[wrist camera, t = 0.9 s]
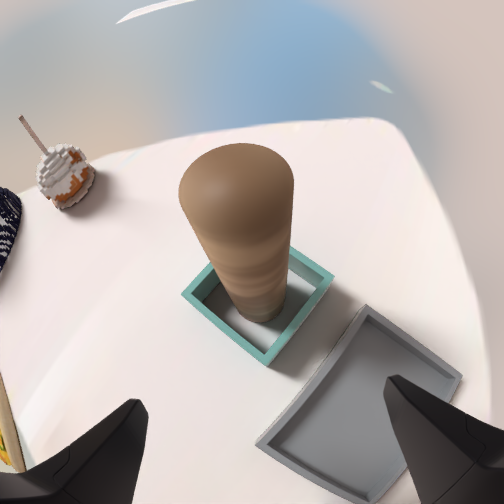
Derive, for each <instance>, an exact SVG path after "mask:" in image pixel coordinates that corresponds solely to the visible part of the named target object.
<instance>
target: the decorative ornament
mask: <svg viewBox="0 0 504 504" xmlns="http://www.w3.org/2000/svg"><path fill="white" fill-rule="evenodd" d="M19 120H20V121H21V123H22V124H23V125H24V127H25V128H26V129H27V131H28V132H29V134H30V135H31V136H32V138H33V139H34V140H35V142H36V143H37V145H38V146H39V147H40V148H41V150H42V151H43V152H44V154H43V155H42V156H41V157H40V158H41V160H42V161H41V162H40V163H39V164H38V165H37V168H38V170H37V171H36V173H37V176H36V179H37V182H38V184H37V186H38V188H39V190H40V191H41V192H42V193H43V195H44V196H45V197H46V198H47V199H48V200H50V198H52V202H53V204H54V205H55V207H56V208H57V209H58V208H59V207H60V208H61V209H63V208H64V207H65V208H67V207H68V206H69V207H71V206H72V205H73V204H74V203H75V202H76V203H78V202H79V200H80V199H81V198H82V197H83V196H84V195H85V194H86V193H87V192H88V191H87V189H88V188H89V187H90V186H91V185H92V183H91V182H92V181H93V180H94V179H93V177H94V176H95V175H94V173H93V172H94V171H95V169H94V168H93V167H92V166H91V165H90V164H89V163H88V164H86V162H85V160H86V157H85V155H84V154H83V152H81V151H80V149H79V148H78V147H76V148H75V149H74V147H73V146H72V145H71V144H69V145H68V146H67V145H66V144H65V143H64V144H63V145H61V144H60V143H59V144H58V145H57V146H56V147H55V148H53V147H52V146H51V147H50V148H49V149H48V150H47V149H46V148H45V147H44V145H43V144H42V143H41V141H40V140H39V139H38V137H37V136H36V134H35V133H34V132H33V130H32V129H31V127H30V126H29V125H28V123H27V122H26V120H25V119H24V117H23V116H22V115H20V116H19Z"/></svg>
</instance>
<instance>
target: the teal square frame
mask: <svg viewBox="0 0 504 504" xmlns="http://www.w3.org/2000/svg"><path fill="white" fill-rule="evenodd" d="M288 268H289V269H290V270H292V271H293V272H294V273H296V274H297V275H299V276H300V277H302V278H303V279H304V280H306V281H307V282H309V283H310V284H312V285H313V286H314V287H316V288H317V289H316V290H315V291H314V293H313V294H312V295H311V297H310V298H309V299H308V301H307V302H306V303H305V305H304V306H303V307H302V309H301V310H300V311H299V312H298V314H297V315H296V316H295V318H294V319H293V320H292V321H291V323H290V324H289V325H288V326H287V328H286V329H285V330H284V331H283V333H282V334H281V335H280V336H279V338H278V339H277V340H276V341H275V343H274V344H273V345H272V346H271V347H270V349H269V350H268V351H267V352H266V353H265V355H264V354H263V353H262V352H260V351H259V350H258V349H256V348H255V347H254V346H253V345H251V344H250V343H249V342H248V341H246V340H245V339H244V338H243V337H241V336H240V335H239V334H238V333H236V332H235V331H234V330H233V329H232V328H230V327H229V326H228V325H227V324H226V323H224V322H223V321H222V320H221V319H220V318H218V317H217V316H216V315H215V314H214V313H213V312H211V311H210V310H209V309H208V308H207V307H206V306H204V305H203V304H202V302H203V300H204V299H205V298H206V297H207V296H208V295H209V294H210V293H211V291H212V290H213V289H214V288H215V287H216V286H217V285H218V284H219V283H220V281H221V280H220V278H219V277H218V275H217V273H216V271H215V269H214V268H213V266H212V264H211V262H210V263H209V264H208V265H207V266H206V267H205V268H204V269H203V270H202V271H201V273H200V274H199V275H198V276H197V277H196V278H195V279H194V280H193V281H192V282H191V283H190V285H189V286H188V287H187V288H186V289H185V290H184V291H183V292H182V293H181V295H182V296H183V297H184V298H185V299H186V300H187V301H188V302H189V303H190V304H192V305H193V306H194V307H195V308H196V309H197V310H198V311H199V312H201V313H202V314H203V315H204V316H205V317H206V318H207V319H208V320H210V321H211V322H212V323H213V324H214V325H215V326H217V327H218V328H219V329H220V330H221V331H222V332H224V333H225V334H226V335H227V336H228V337H230V338H231V339H232V340H233V341H234V342H236V343H237V344H238V345H239V346H241V347H242V348H243V349H244V350H245V351H247V352H248V353H249V354H250V355H252V356H253V357H254V358H256V359H257V360H258V361H259V362H261V363H262V364H263V365H264V366H266V367H268V366H269V365H270V363H271V362H272V361H273V360H274V359H275V357H276V356H277V355H278V354H279V352H280V351H281V350H282V349H283V348H284V346H285V345H286V344H287V343H288V341H289V340H290V339H291V338H292V336H293V335H294V334H295V332H296V331H297V330H298V329H299V327H300V326H301V325H302V323H303V322H304V321H305V320H306V318H307V317H308V316H309V314H310V313H311V312H312V310H313V309H314V308H315V306H316V305H317V304H318V302H319V301H320V299H321V298H322V297H323V295H324V294H325V293H326V291H327V290H328V288H329V286H330V285H331V283H332V281H333V279H334V277H335V276H334V275H332V274H331V273H330V272H328V271H327V270H325V269H324V268H322V267H321V266H319V265H318V264H316V263H315V262H313V261H312V260H311V259H309V258H308V257H306V256H305V255H303V254H302V253H300V252H299V251H297V250H296V249H294V248H293V247H291V246H290V250H289V262H288Z"/></svg>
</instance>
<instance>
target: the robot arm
mask: <svg viewBox="0 0 504 504" xmlns="http://www.w3.org/2000/svg"><path fill="white" fill-rule="evenodd" d="M383 397H384V400H385V404H386V407H387V411H388V414H389V418H390V421H391V425H392V428H393V431H394V434H395V436H396V438H397V441H398V443H399V446H400V448H401V451H402V453H403V456H404V458H405V461H406V463H407V466H408V469H409V471H410V474H411V477H412V479H413V482H414V485H415V488H416V490H417V493H418V496H419V499H420V502H421V504H504V430H501V429H499V428H496V427H493V426H491V425H489V424H486V423H484V422H482V421H480V420H478V419H476V418H474V417H472V416H470V415H469V414H466V413H465V412H463V411H461V410H459V409H458V408H456V407H454V406H452V405H451V404H449V403H447V402H445V401H444V400H442V399H440V398H438V397H437V396H435V395H433V394H431V393H430V392H428V391H426V390H424V389H423V388H421V387H419V386H418V385H416V384H414V383H413V382H411V381H409V380H407V379H406V378H404V377H402V376H401V375H399V374H394V375H391V376H388V377H387V379H386V382H385V387H384V391H383ZM148 418H149V417H148V412H147V411H146V409H145V407H144V405H143V403H142V401H141V400H139V399H129V400H127V401H126V402H125V403H124V404H122V405H121V406H120V407H119V408H117V409H116V410H115V411H113V412H112V413H111V414H110V415H108V416H107V417H106V418H104V419H103V420H102V421H101V422H99V423H98V424H97V425H95V426H94V427H93V428H91V429H90V430H89V431H87V432H86V433H85V434H83V435H82V436H81V437H79V438H78V439H77V440H75V441H74V442H73V443H71V444H70V446H67V447H66V448H64V449H63V450H62V451H60V452H59V453H57V454H56V455H54V456H53V457H51V458H49V459H48V460H46V461H44V462H42V463H41V464H39V465H37V466H35V467H33V468H31V469H30V470H28V471H25V472H22V473H17V474H16V473H15V474H14V473H4V472H0V504H132V500H133V496H134V491H135V487H136V482H137V478H138V474H139V470H140V465H141V461H142V457H143V453H144V448H145V441H146V433H147V426H148Z"/></svg>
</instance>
